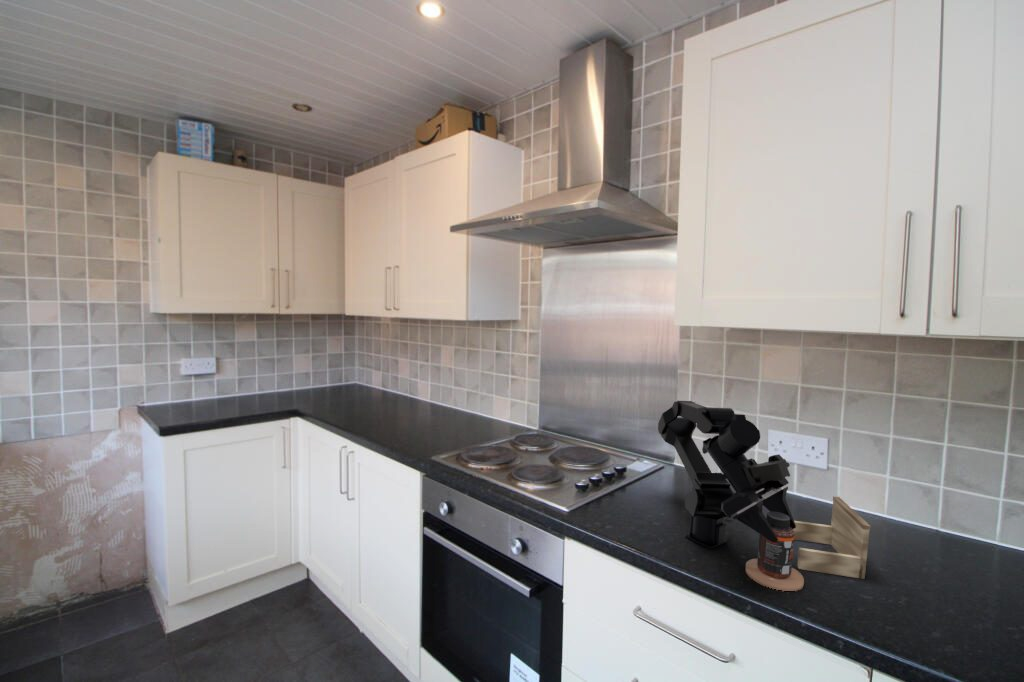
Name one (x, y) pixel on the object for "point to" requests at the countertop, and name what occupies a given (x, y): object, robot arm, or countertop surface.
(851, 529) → the wooden bench
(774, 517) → the supplement bottle
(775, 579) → the peach rounded disc
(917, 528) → the countertop surface
